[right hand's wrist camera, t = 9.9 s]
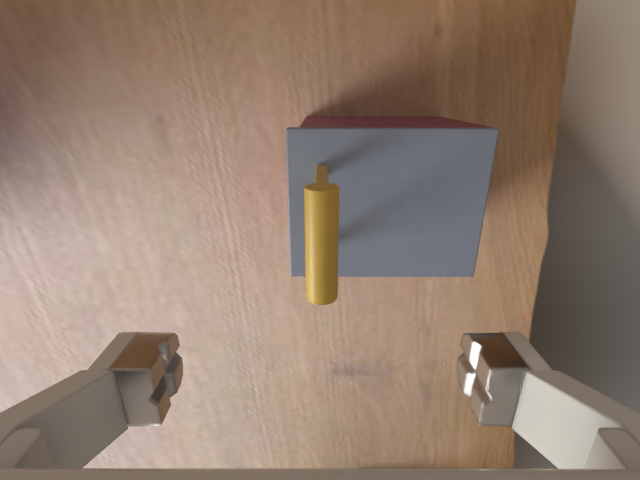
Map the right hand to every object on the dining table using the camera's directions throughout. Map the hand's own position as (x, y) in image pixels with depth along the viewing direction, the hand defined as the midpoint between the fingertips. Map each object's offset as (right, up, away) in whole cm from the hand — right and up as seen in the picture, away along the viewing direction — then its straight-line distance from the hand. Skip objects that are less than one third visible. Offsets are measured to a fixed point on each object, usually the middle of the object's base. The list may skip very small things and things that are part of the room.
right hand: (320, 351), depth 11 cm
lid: (+4, +6, +14) cm, 16 cm away
